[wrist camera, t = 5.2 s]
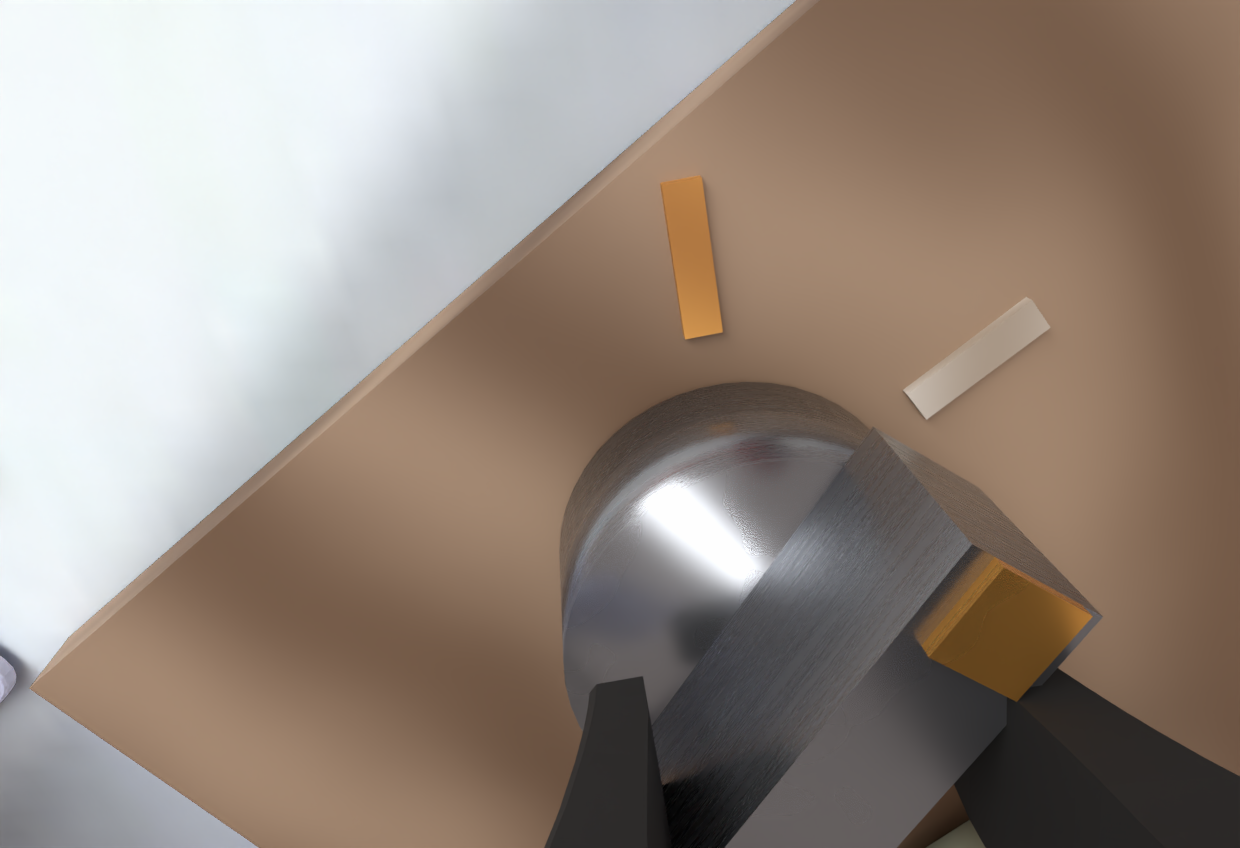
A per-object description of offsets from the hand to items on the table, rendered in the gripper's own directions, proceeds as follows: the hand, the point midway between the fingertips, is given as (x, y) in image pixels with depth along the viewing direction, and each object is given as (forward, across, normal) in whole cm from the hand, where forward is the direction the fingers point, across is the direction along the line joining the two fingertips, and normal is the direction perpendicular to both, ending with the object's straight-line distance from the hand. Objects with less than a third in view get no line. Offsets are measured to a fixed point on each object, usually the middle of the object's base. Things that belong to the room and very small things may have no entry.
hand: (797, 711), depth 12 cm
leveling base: (+6, -2, +2) cm, 7 cm away
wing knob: (+4, 0, 0) cm, 4 cm away
